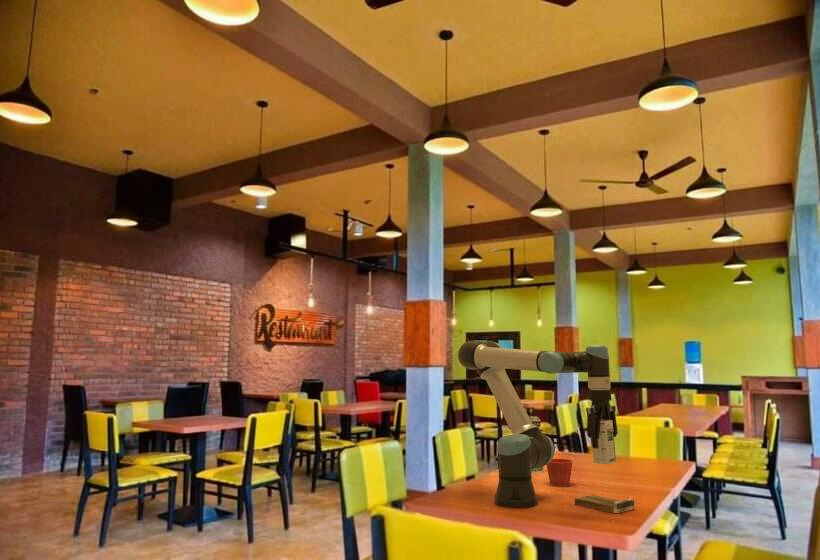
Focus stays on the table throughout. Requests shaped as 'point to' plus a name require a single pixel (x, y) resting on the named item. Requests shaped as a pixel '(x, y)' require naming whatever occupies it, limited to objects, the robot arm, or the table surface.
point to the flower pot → (559, 471)
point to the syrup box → (606, 443)
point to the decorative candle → (536, 422)
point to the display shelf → (605, 503)
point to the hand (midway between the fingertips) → (604, 456)
